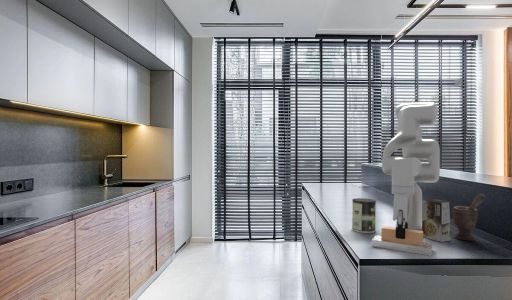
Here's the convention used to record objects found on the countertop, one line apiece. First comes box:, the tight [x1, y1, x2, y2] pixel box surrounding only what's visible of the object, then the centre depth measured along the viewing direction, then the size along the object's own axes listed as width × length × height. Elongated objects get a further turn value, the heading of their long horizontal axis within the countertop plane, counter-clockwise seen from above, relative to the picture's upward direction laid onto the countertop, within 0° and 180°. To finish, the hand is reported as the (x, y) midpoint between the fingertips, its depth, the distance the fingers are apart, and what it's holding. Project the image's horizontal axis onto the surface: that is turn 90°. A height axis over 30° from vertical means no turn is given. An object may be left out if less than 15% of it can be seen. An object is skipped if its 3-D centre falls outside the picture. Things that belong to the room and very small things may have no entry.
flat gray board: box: [371, 234, 433, 257], centre depth 121 cm, size 20×8×2 cm, turn 60°
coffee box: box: [421, 198, 452, 243], centre depth 135 cm, size 9×6×16 cm
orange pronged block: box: [380, 225, 424, 246], centre depth 121 cm, size 14×4×7 cm, turn 60°
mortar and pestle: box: [452, 193, 486, 242], centre depth 134 cm, size 12×9×20 cm
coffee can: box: [351, 197, 377, 234], centre depth 147 cm, size 10×10×14 cm
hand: (401, 235), depth 121 cm, fingers open, 9 cm apart
